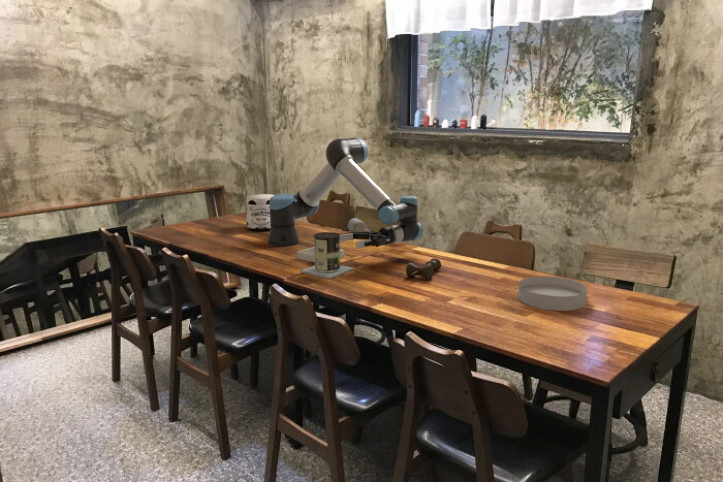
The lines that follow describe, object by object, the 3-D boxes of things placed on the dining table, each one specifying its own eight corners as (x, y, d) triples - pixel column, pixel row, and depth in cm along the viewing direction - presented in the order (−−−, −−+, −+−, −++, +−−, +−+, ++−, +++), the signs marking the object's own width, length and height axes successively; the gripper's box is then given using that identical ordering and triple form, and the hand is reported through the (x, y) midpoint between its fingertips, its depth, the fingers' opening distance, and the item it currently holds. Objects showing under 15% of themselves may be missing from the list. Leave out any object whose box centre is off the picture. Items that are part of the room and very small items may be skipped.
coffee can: (341, 265, 223) (340, 231, 220) (339, 272, 213) (339, 237, 210) (316, 265, 223) (315, 231, 220) (313, 272, 213) (312, 237, 210)
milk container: (257, 233, 287) (255, 199, 283) (240, 228, 299) (238, 196, 295) (285, 228, 298) (283, 196, 294) (267, 224, 311) (266, 192, 306)
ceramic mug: (354, 235, 280) (354, 221, 278) (347, 232, 287) (347, 218, 285) (372, 234, 284) (372, 219, 283) (365, 231, 291) (365, 217, 290)
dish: (532, 285, 199) (533, 272, 198) (595, 298, 186) (596, 284, 185) (506, 301, 183) (506, 287, 182) (572, 316, 169) (574, 301, 168)
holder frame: (297, 258, 237) (296, 251, 237) (319, 251, 249) (319, 245, 248) (322, 263, 229) (322, 257, 228) (344, 256, 240) (344, 249, 239)
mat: (300, 272, 217) (300, 270, 217) (325, 263, 229) (325, 262, 229) (329, 278, 208) (329, 276, 208) (353, 269, 220) (353, 267, 220)
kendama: (447, 272, 217) (422, 284, 201) (425, 269, 222) (400, 280, 206) (447, 258, 216) (422, 268, 200) (425, 255, 221) (400, 265, 205)
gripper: (408, 249, 223) (364, 257, 212) (374, 238, 243) (332, 244, 232) (408, 231, 221) (364, 238, 210) (374, 221, 242) (332, 227, 230)
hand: (347, 241), depth 221 cm, fingers open, 13 cm apart
